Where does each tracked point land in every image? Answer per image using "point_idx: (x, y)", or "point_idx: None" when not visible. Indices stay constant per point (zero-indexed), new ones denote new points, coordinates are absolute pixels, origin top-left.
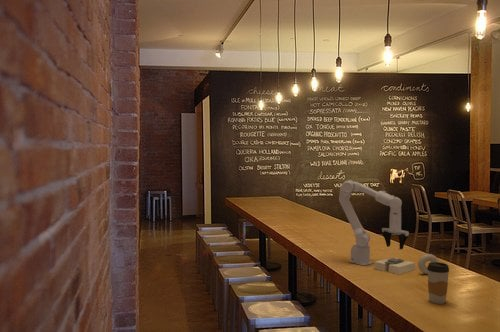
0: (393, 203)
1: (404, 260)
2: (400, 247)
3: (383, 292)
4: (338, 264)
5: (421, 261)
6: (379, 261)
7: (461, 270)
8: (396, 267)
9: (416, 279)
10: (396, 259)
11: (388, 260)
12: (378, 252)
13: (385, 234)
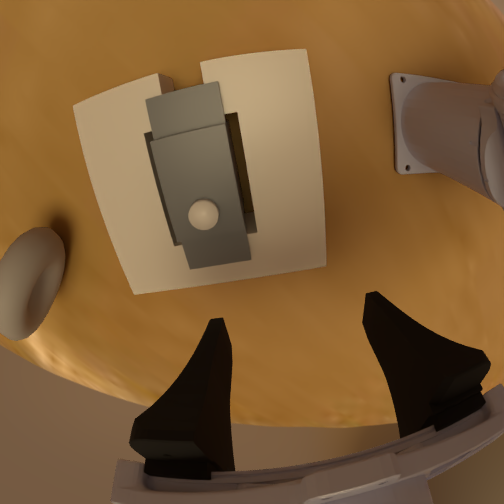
0: None
1: (208, 283)
2: (209, 329)
3: None
4: (464, 15)
5: (7, 250)
6: (290, 89)
7: (94, 382)
8: (94, 96)
9: (9, 135)
10: (191, 202)
11: (216, 126)
12: (451, 339)
13: (448, 373)
